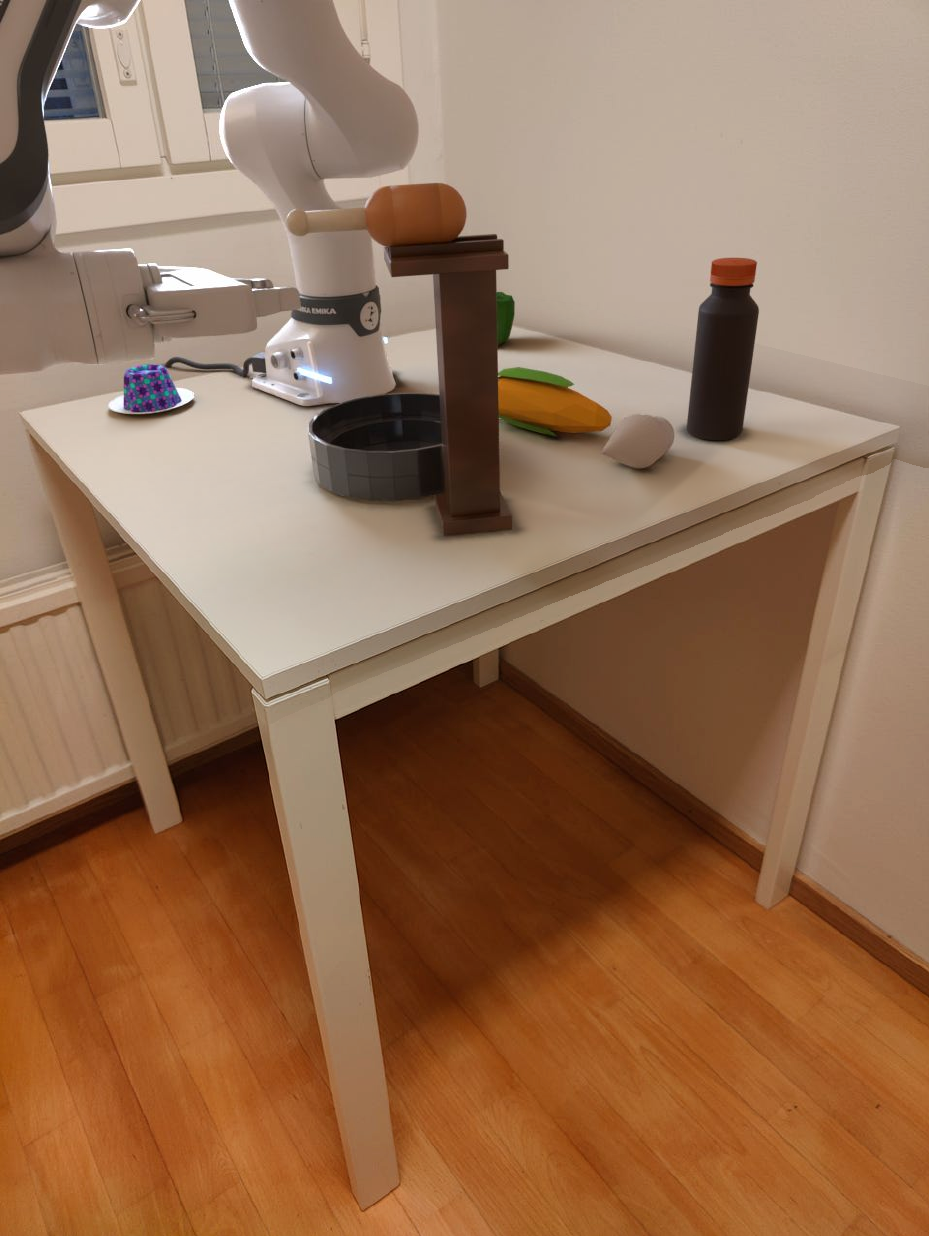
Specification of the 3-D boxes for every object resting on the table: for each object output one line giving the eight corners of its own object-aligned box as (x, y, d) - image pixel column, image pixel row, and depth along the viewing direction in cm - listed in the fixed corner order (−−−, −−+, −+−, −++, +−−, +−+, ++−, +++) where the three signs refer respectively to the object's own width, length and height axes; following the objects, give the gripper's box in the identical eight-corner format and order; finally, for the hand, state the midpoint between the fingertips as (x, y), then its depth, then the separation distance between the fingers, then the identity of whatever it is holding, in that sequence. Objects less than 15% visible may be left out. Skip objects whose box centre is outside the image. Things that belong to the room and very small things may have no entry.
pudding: (173, 387, 133) (165, 352, 130) (209, 404, 125) (202, 367, 122) (96, 405, 126) (87, 370, 124) (130, 425, 119) (120, 387, 116)
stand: (412, 542, 85) (389, 251, 71) (404, 508, 92) (382, 237, 78) (513, 531, 86) (510, 243, 72) (498, 499, 93) (493, 230, 79)
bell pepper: (483, 335, 152) (481, 275, 147) (522, 340, 148) (522, 279, 143) (455, 346, 147) (452, 284, 141) (495, 352, 142) (494, 289, 137)
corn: (507, 350, 114) (632, 378, 102) (510, 405, 119) (631, 438, 107) (468, 367, 110) (594, 398, 98) (473, 424, 115) (594, 459, 103)
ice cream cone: (592, 491, 94) (654, 468, 105) (636, 465, 89) (696, 444, 100) (566, 441, 94) (631, 423, 105) (609, 413, 90) (672, 397, 101)
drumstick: (289, 258, 72) (281, 195, 69) (290, 249, 76) (282, 188, 73) (471, 246, 73) (469, 184, 71) (463, 238, 77) (461, 178, 75)
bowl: (278, 480, 100) (270, 430, 97) (391, 428, 113) (387, 383, 110) (412, 520, 90) (408, 466, 86) (518, 458, 103) (518, 409, 100)
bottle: (754, 433, 107) (779, 261, 96) (713, 445, 104) (734, 269, 93) (714, 418, 112) (733, 253, 101) (674, 430, 109) (690, 261, 98)
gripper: (126, 275, 63) (311, 261, 67) (104, 259, 79) (254, 249, 84) (144, 364, 65) (320, 344, 70) (119, 331, 82) (263, 317, 87)
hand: (284, 292), depth 77 cm, fingers open, 8 cm apart
